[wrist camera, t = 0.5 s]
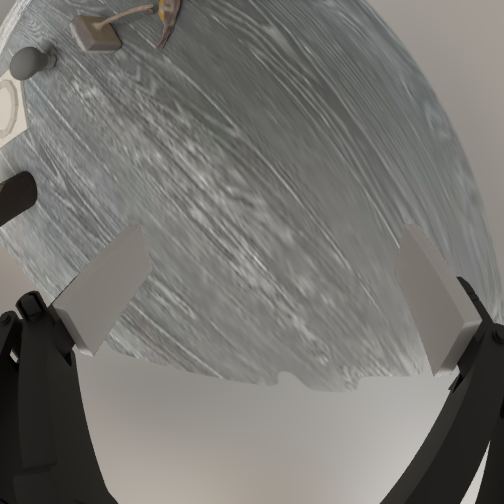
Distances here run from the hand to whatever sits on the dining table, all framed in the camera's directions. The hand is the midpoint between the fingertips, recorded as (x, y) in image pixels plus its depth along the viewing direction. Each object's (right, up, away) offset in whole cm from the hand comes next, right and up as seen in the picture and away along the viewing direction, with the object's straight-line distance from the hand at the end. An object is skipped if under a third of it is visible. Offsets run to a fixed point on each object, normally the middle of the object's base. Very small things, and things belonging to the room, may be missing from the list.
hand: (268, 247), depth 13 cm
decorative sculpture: (-17, +32, +15) cm, 40 cm away
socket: (-53, +31, +22) cm, 65 cm away
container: (-49, +13, +32) cm, 60 cm away
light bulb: (-36, +34, +18) cm, 52 cm away
